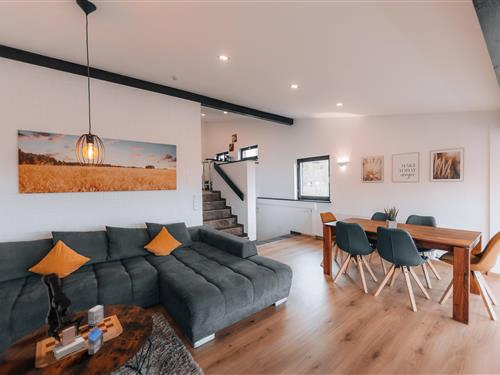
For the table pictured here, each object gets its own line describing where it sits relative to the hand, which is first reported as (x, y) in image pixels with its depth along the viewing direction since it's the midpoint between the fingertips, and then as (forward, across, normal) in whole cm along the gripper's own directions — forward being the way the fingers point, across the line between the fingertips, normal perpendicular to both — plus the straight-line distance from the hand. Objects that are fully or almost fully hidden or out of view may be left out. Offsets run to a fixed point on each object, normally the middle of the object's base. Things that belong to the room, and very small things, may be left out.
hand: (69, 339), depth 143 cm
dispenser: (+4, 0, +6) cm, 7 cm away
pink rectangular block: (+4, 0, +6) cm, 7 cm away
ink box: (-7, +20, +17) cm, 27 cm away
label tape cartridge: (+14, +10, -3) cm, 17 cm away
